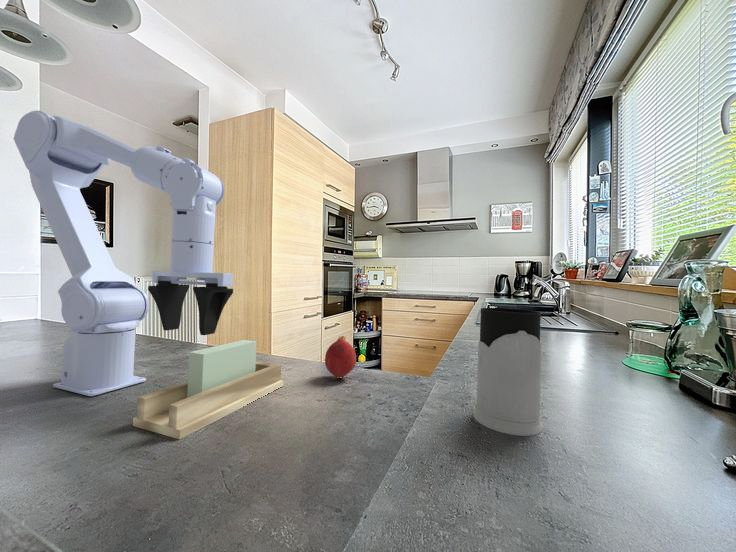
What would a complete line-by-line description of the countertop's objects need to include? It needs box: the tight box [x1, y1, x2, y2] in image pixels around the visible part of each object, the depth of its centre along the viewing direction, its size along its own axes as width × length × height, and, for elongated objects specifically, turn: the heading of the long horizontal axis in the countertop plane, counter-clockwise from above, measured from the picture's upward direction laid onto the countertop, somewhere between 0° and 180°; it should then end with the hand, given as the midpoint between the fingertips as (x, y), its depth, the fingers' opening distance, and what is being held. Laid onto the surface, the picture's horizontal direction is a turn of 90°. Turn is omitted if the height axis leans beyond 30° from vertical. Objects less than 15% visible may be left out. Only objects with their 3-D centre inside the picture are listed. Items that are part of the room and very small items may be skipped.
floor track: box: [132, 360, 284, 440], centre depth 44 cm, size 8×19×4 cm, turn 160°
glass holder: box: [472, 307, 544, 437], centre depth 45 cm, size 9×14×15 cm, turn 177°
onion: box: [324, 334, 357, 378], centre depth 57 cm, size 6×6×8 cm
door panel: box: [187, 339, 258, 398], centre depth 45 cm, size 2×10×7 cm, turn 160°
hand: (188, 331), depth 47 cm, fingers open, 7 cm apart
